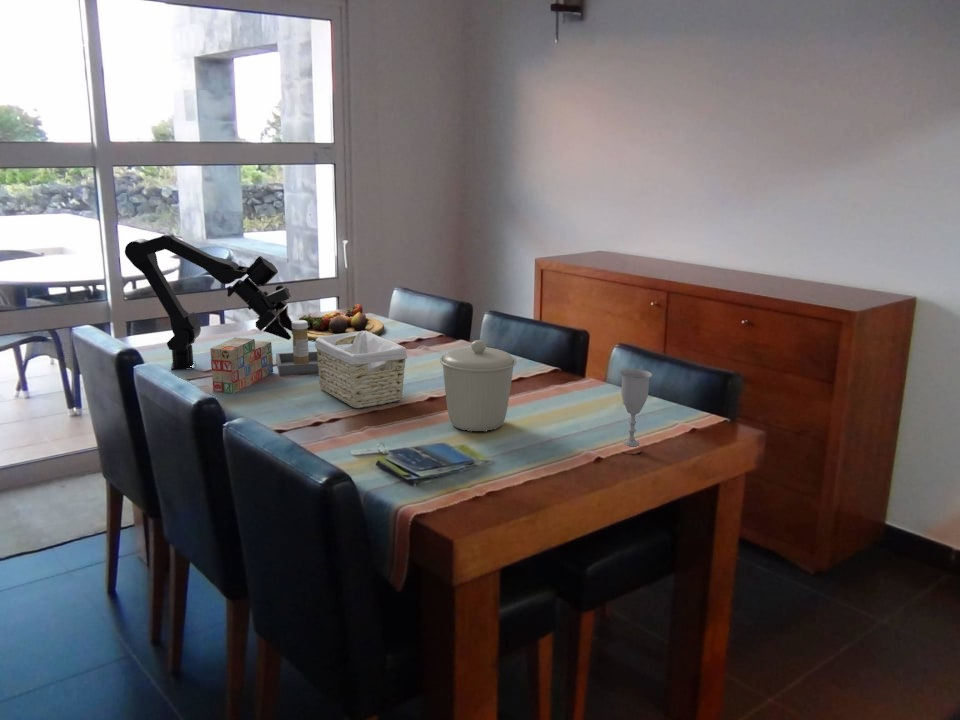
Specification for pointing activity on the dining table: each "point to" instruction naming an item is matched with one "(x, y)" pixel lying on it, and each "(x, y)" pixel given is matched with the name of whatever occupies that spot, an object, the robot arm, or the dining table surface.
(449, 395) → the canister
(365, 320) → the wooden plate with food
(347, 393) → the storage basket
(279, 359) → the box
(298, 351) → the sprinkles bottle
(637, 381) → the chalice
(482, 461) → the dining table surface
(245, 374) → the stack of blocks
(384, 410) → the dining table surface
